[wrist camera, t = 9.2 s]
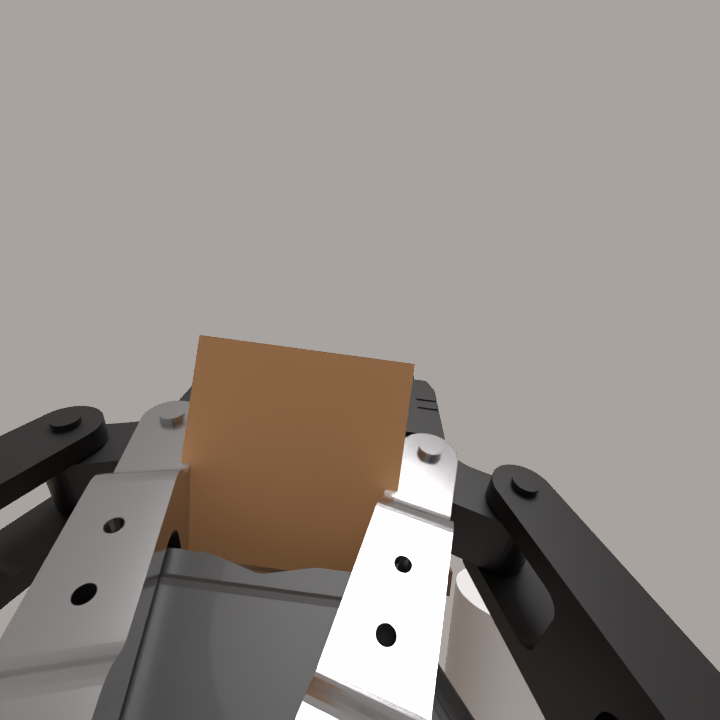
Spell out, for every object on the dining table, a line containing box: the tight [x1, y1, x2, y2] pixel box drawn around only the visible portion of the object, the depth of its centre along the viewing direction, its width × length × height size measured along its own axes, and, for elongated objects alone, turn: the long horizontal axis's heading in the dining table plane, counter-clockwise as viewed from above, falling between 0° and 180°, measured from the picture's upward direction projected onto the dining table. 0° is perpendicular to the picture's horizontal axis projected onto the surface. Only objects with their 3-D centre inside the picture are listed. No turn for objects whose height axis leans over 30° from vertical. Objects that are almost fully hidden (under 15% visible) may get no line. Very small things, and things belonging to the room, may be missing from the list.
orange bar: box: [181, 335, 415, 572], centre depth 17 cm, size 4×20×4 cm, turn 0°
